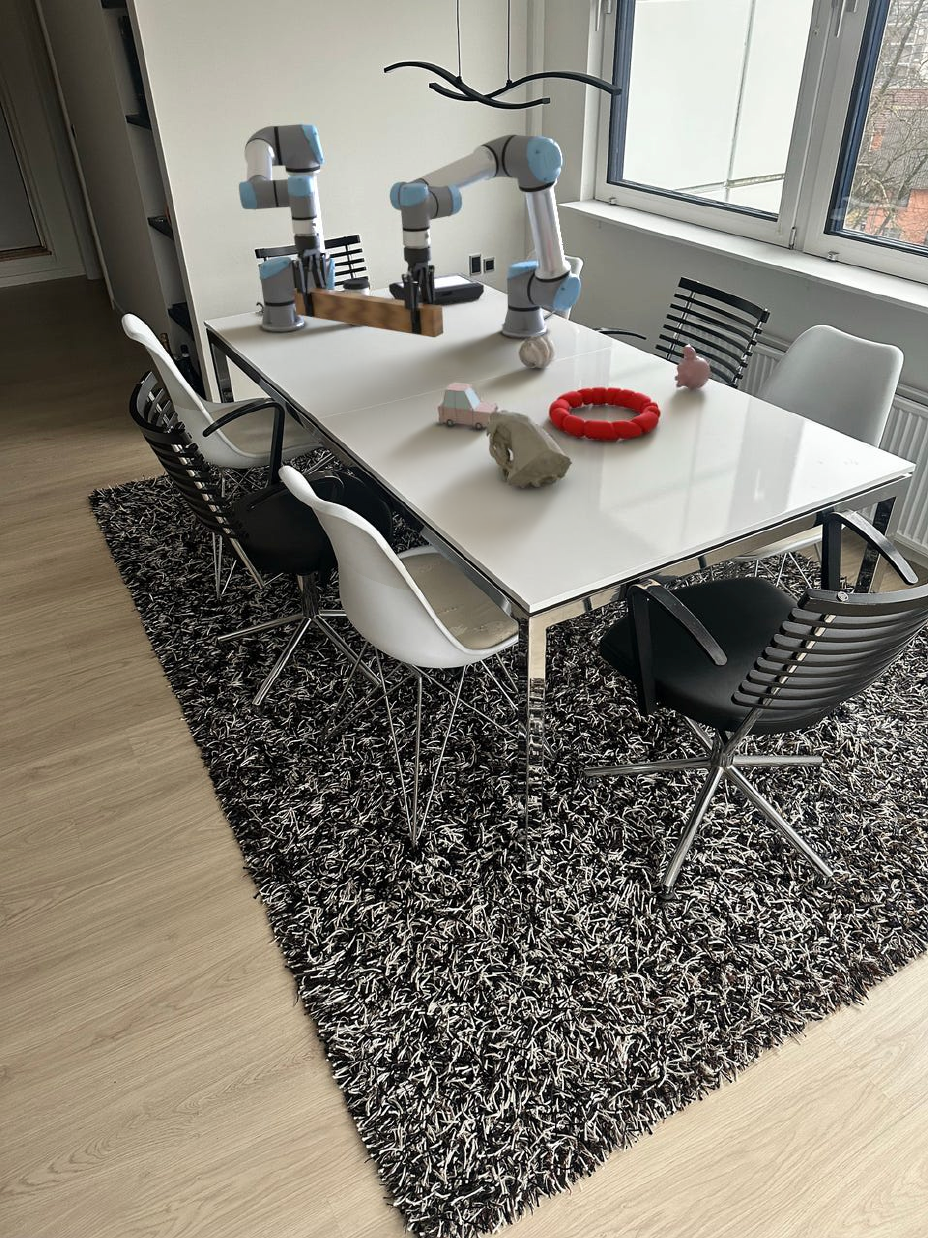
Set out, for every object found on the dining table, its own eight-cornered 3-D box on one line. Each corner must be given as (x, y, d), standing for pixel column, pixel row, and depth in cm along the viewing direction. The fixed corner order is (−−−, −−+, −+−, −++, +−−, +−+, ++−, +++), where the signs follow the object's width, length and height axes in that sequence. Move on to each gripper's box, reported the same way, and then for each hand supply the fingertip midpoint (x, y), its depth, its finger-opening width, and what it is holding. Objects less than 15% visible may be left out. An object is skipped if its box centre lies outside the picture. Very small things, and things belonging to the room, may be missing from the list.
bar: (296, 314, 279) (293, 289, 275) (305, 310, 282) (302, 285, 278) (434, 337, 256) (433, 309, 251) (443, 333, 259) (442, 305, 255)
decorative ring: (589, 435, 224) (684, 402, 234) (527, 398, 247) (617, 369, 256) (589, 461, 229) (683, 427, 238) (529, 422, 251) (617, 393, 260)
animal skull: (496, 517, 219) (521, 479, 201) (463, 429, 225) (484, 384, 207) (557, 503, 225) (586, 465, 206) (523, 417, 231) (549, 373, 212)
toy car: (488, 432, 240) (488, 396, 234) (436, 426, 244) (434, 390, 239) (499, 419, 247) (499, 384, 241) (448, 413, 252) (447, 379, 246)
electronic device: (407, 294, 335) (388, 282, 350) (408, 310, 338) (389, 298, 353) (483, 282, 345) (462, 272, 360) (483, 299, 348) (463, 287, 364)
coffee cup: (372, 326, 323) (368, 283, 314) (345, 327, 323) (340, 284, 315) (374, 318, 331) (371, 276, 322) (348, 319, 331) (344, 277, 323)
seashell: (509, 366, 283) (509, 335, 277) (548, 358, 288) (549, 327, 283) (526, 376, 275) (526, 344, 269) (566, 367, 281) (567, 335, 275)
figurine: (665, 387, 264) (669, 347, 257) (693, 380, 268) (698, 340, 261) (686, 396, 257) (690, 355, 250) (714, 388, 262) (720, 348, 255)
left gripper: (296, 240, 257) (306, 322, 270) (334, 228, 269) (342, 307, 282) (276, 238, 260) (287, 319, 273) (315, 226, 272) (324, 304, 285)
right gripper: (410, 253, 239) (415, 340, 252) (445, 240, 251) (448, 324, 264) (387, 251, 242) (393, 337, 255) (423, 238, 254) (427, 320, 268)
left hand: (315, 313), depth 278 cm, fingers closed on bar, 5 cm apart
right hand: (421, 330), depth 260 cm, fingers closed on bar, 5 cm apart
